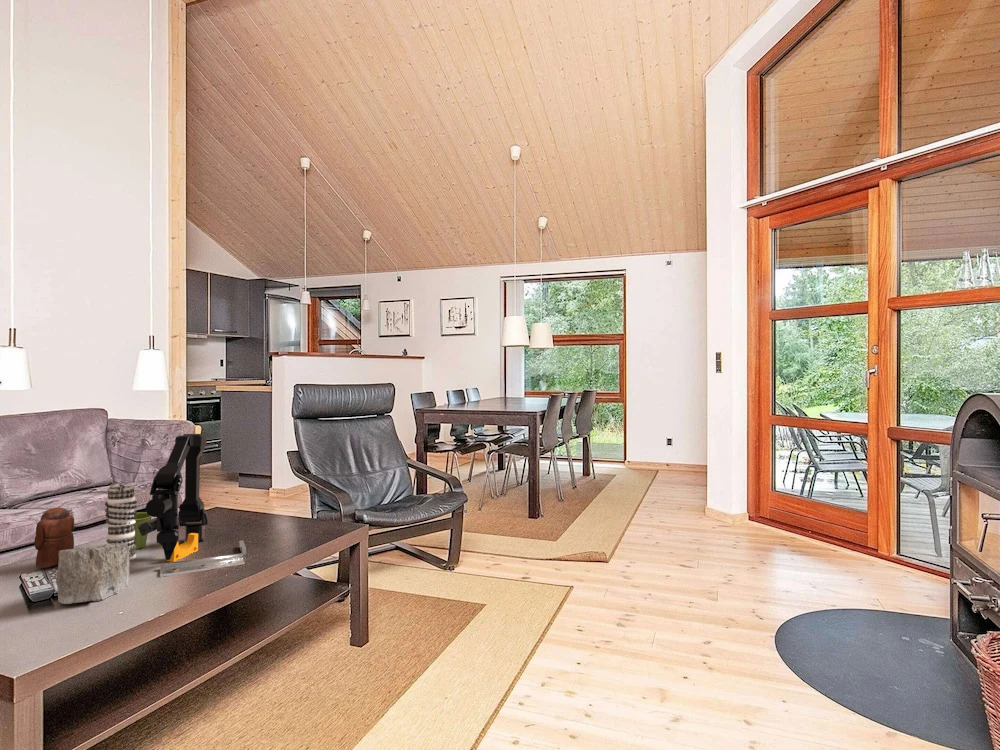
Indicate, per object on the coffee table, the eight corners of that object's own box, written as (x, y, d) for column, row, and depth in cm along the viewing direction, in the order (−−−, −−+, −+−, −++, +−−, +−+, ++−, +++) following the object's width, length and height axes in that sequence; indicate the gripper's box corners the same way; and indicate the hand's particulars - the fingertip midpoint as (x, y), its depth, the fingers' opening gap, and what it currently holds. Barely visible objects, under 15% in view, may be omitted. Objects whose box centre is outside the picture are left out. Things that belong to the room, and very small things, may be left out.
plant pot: (118, 554, 210) (118, 521, 210) (111, 547, 219) (111, 515, 219) (156, 547, 218) (156, 516, 218) (149, 541, 227) (149, 510, 227)
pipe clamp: (186, 550, 214) (187, 532, 214) (197, 551, 214) (198, 533, 214) (162, 561, 203) (162, 541, 202) (173, 562, 202) (174, 542, 202)
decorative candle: (118, 563, 200) (118, 487, 200) (98, 561, 203) (98, 485, 203) (143, 556, 208) (143, 482, 208) (123, 553, 212) (123, 480, 211)
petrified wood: (120, 577, 186) (119, 528, 186) (143, 590, 175) (142, 538, 175) (45, 595, 172) (45, 542, 172) (65, 610, 161) (65, 553, 161)
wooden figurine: (58, 557, 207) (58, 504, 207) (76, 557, 206) (76, 504, 206) (29, 568, 195) (29, 512, 195) (48, 569, 195) (48, 512, 195)
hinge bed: (161, 558, 205) (161, 550, 205) (243, 548, 217) (243, 540, 217) (159, 577, 187) (159, 567, 187) (248, 564, 199) (248, 555, 199)
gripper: (141, 506, 206) (141, 553, 207) (137, 518, 190) (138, 568, 190) (178, 503, 212) (178, 548, 212) (178, 514, 195) (178, 563, 195)
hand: (168, 557), depth 202 cm, fingers open, 6 cm apart
